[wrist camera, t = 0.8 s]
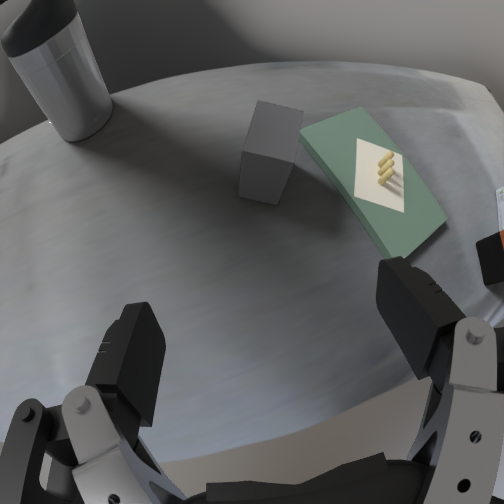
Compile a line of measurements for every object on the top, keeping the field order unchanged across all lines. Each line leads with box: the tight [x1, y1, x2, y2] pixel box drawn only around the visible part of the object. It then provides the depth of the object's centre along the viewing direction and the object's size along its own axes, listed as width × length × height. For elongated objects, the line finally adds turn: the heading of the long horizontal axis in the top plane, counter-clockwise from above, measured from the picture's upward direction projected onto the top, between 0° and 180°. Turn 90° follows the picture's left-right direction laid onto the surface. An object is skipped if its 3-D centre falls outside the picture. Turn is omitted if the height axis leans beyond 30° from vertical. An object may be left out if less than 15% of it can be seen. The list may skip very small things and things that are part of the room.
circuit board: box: [299, 106, 448, 259], centre depth 32 cm, size 20×12×4 cm, turn 32°
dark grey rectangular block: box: [238, 101, 304, 205], centre depth 29 cm, size 6×4×9 cm
